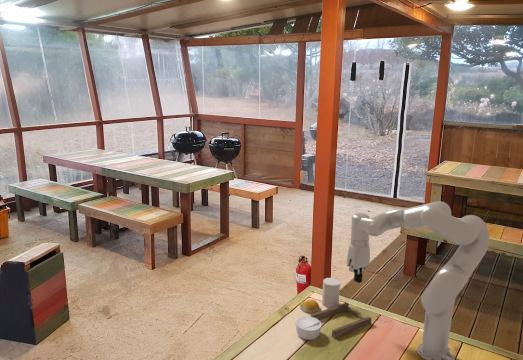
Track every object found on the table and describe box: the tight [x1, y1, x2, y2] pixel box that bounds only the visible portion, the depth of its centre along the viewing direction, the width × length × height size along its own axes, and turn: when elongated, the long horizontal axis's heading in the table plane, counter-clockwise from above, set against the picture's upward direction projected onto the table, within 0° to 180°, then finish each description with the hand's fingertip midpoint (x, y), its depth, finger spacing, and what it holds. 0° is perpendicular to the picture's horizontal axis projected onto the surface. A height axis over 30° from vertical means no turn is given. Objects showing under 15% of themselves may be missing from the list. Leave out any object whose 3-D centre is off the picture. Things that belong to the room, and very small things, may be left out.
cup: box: [321, 277, 341, 309], centre depth 207 cm, size 8×8×12 cm
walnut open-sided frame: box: [310, 302, 372, 339], centre depth 192 cm, size 16×22×3 cm
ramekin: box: [295, 315, 322, 341], centre depth 183 cm, size 11×11×5 cm
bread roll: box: [299, 299, 320, 314], centre depth 204 cm, size 8×9×4 cm
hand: (357, 281), depth 187 cm, fingers closed
